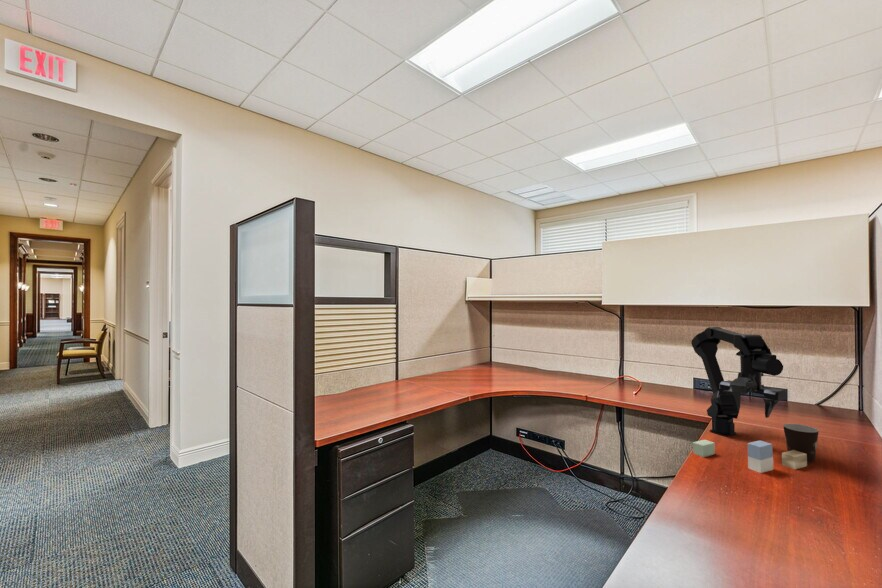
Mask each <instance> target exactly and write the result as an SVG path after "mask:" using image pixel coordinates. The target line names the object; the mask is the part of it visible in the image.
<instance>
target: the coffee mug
mask: <svg viewBox="0 0 882 588" xmlns="http://www.w3.org/2000/svg"><path fill="white" fill-rule="evenodd" d="M782 426H783V432H784V437H785V444H786V449H787V451H791V450H796V451H799V452H802V453H805V454H807V463H814V462H815V461H816V455H817V454H816V452H817V445H818V440H819V439H818V438H819V431H820V430H819V429H818V428H815V427H813V426H809V425H806V424H798V423H784V424H783V425H782Z"/></svg>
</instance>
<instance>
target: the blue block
mask: <svg viewBox="0 0 882 588" xmlns="http://www.w3.org/2000/svg"><path fill="white" fill-rule="evenodd" d="M748 456H749V457H752V458H755V459H758V460H763V459H767V458H771V457H773V443H769V442H766V441H763V440H759V439H758V440H756V441H751V442H747V457H748ZM773 458H774V457H773Z"/></svg>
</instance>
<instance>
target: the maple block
mask: <svg viewBox="0 0 882 588" xmlns="http://www.w3.org/2000/svg"><path fill="white" fill-rule="evenodd" d="M781 465H782V466H783V467H787V468H790V469H792V470H797V469H798V470H799V469H802V468H805V467H807V466H808V462H807V454H805V453H802V452H799V451H796V450H791V451H788V450H787V451H784V452H781Z"/></svg>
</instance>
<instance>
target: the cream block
mask: <svg viewBox="0 0 882 588" xmlns="http://www.w3.org/2000/svg"><path fill="white" fill-rule="evenodd" d="M747 468H748V469H749V470H750V471H751V470H752V471H755V472H758V473H759V474H762V473H766V472H770V471H773V470H774V457H771V458H767V459H763V460H758V459H755V458H752V457H749V456H748V455H747Z"/></svg>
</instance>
